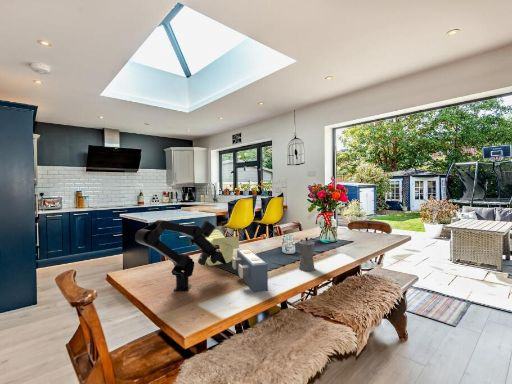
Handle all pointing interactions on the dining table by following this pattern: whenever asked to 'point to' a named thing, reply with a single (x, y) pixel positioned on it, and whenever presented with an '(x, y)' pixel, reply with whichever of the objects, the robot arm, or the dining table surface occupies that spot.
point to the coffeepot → (306, 255)
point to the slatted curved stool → (223, 245)
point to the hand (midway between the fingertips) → (225, 263)
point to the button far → (236, 262)
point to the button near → (243, 270)
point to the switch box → (254, 270)
